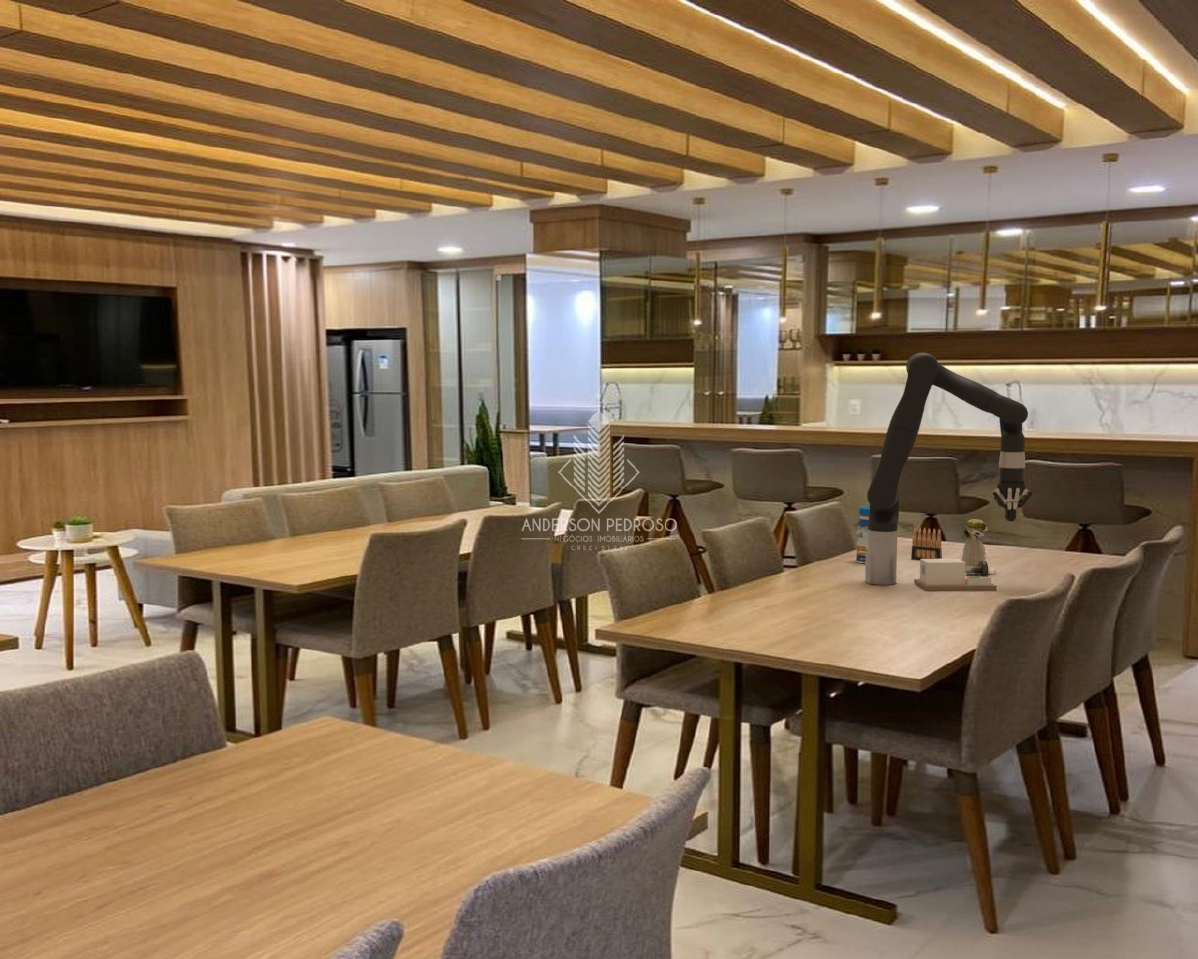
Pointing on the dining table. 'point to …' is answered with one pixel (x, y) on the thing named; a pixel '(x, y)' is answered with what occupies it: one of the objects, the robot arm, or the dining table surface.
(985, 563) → the plunger
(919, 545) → the ammunition clip
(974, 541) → the figurine
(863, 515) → the beverage bottle
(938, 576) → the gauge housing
